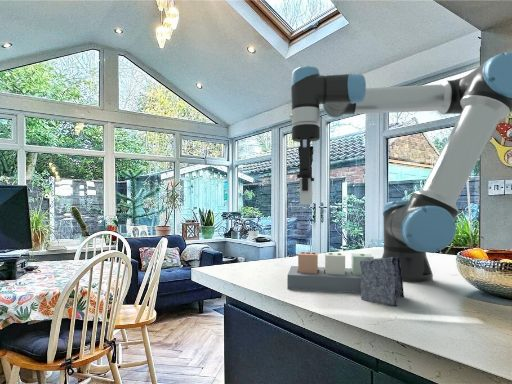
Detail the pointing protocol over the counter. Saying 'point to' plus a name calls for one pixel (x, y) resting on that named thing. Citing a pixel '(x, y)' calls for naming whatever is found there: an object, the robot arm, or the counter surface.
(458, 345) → the counter surface
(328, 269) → the tile two
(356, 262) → the tile one
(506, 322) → the counter surface
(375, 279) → the stone
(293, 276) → the key board
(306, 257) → the tile three
